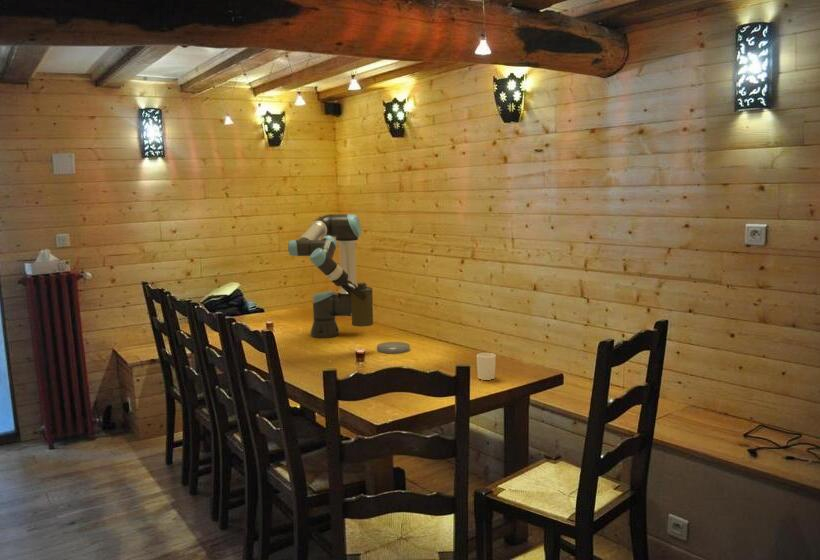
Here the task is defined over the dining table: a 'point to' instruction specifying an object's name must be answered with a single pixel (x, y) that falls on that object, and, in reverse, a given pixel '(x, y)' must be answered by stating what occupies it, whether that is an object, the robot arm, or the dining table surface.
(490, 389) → the dining table surface
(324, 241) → the robot arm
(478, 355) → the white cup
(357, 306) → the canister
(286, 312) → the dining table surface
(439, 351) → the dining table surface
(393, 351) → the disc
